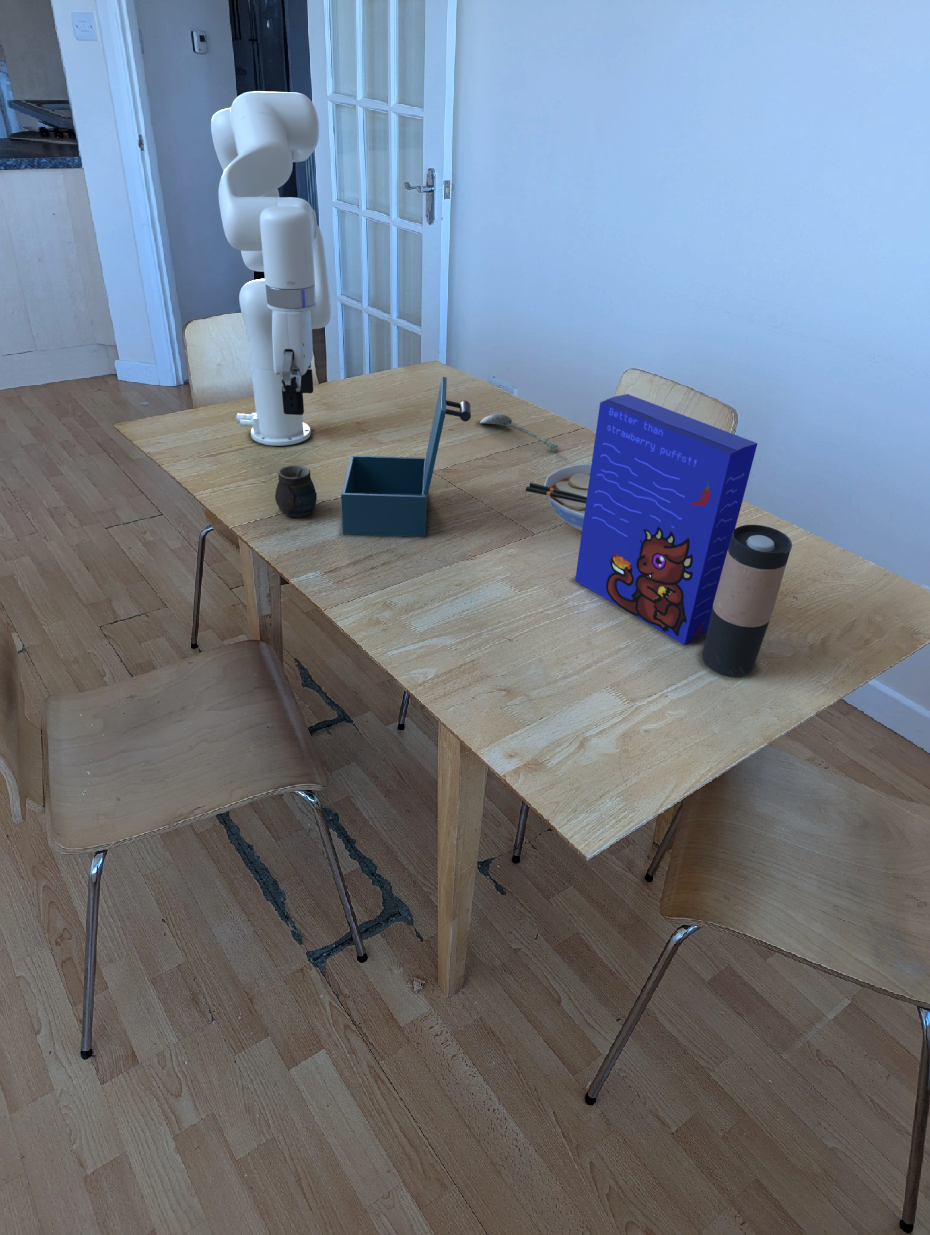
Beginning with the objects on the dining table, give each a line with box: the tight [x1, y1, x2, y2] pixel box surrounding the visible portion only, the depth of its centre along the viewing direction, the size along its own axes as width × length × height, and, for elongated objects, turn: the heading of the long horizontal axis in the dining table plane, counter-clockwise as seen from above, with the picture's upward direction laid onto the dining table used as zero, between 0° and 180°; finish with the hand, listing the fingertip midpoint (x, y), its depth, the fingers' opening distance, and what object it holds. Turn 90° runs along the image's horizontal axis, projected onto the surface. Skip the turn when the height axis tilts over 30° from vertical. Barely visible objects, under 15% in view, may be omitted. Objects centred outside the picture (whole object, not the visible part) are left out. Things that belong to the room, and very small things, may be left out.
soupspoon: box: [479, 413, 559, 453], centre depth 181 cm, size 22×3×7 cm
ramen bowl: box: [525, 463, 592, 532], centre depth 146 cm, size 25×23×8 cm
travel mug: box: [701, 524, 793, 678], centre depth 111 cm, size 8×8×20 cm
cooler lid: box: [423, 376, 472, 496], centre depth 141 cm, size 15×16×5 cm
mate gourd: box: [274, 464, 318, 518], centre depth 145 cm, size 7×8×10 cm
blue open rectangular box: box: [340, 454, 428, 538], centre depth 147 cm, size 14×16×8 cm
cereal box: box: [574, 393, 758, 645], centre depth 119 cm, size 22×6×30 cm, turn 40°
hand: (299, 402), depth 137 cm, fingers open, 9 cm apart
